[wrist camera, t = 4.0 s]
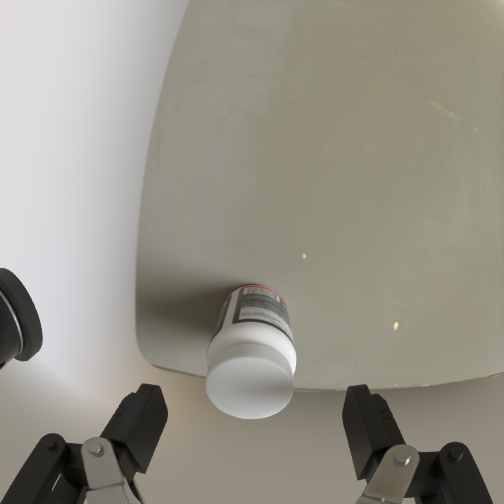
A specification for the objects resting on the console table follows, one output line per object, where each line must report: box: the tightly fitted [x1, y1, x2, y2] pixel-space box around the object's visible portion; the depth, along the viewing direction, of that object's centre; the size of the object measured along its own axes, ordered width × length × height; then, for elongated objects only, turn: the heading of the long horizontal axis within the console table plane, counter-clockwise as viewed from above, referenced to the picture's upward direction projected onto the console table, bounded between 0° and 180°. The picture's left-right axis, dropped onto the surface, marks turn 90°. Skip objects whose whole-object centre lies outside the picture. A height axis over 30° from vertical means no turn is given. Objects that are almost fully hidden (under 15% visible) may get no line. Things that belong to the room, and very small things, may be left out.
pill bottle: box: [205, 285, 296, 419], centre depth 15 cm, size 5×5×8 cm
